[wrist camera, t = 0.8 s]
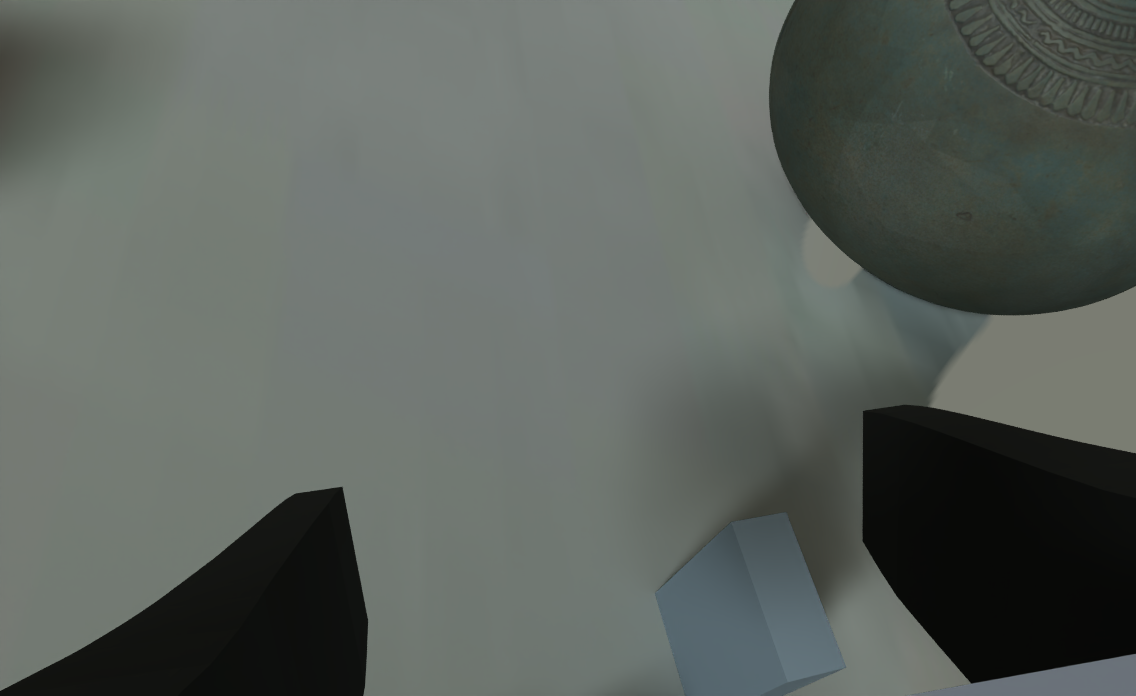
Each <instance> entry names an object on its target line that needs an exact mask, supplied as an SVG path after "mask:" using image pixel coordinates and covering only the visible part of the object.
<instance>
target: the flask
mask: <svg viewBox="0 0 1136 696" xmlns="http://www.w3.org/2000/svg"><path fill="white" fill-rule="evenodd" d="M769 108H770V120H771V128H772V132H773V138H774V143H775V147H776V150H777V154H778V157H779V160H780V162H781V165H782V168H783V170H784V172H785V174H786V176H787V178H788V180H789V182H790V184H791V186H792V188H793V190H794V192H795V193H796V195H797V197H798V199H799V200H800V202H801V203H802V205H803V206H804V208H805V210H806V211H807V212H808V214H809V215H810V217H811V218H812V219H813V221H814V222H815V223H816V224H817V226H818V227H819V228H820V229H821V230H822V231H823V233H824V234H825V235H826V236H827V237H828V238H829V239H830V240H831V241H832V242H833V243H834V244H835V245H836V246H837V247H838V248H839V249H840V250H842V251H843V252H844V253H845V254H846V255H847V256H849V257H850V258H851V259H852V260H853V261H855V262H856V263H857V264H859V265H860V266H861V267H863V268H864V269H866V270H867V271H868V272H870V273H871V274H873V275H874V276H876V277H878V278H879V279H881V280H883V281H884V282H886V283H888V284H889V285H891V286H893V287H895V288H897V289H899V290H901V291H903V292H906V293H908V294H910V295H913V296H915V297H918V298H920V299H923V300H926V301H929V302H932V303H935V304H938V305H942V306H945V307H949V308H954V309H958V310H963V311H968V312H974V313H980V314H990V315H1031V314H1032V315H1033V314H1041V313H1050V312H1058V311H1063V310H1068V309H1073V308H1077V307H1082V306H1085V305H1089V304H1092V303H1095V302H1098V301H1101V300H1104V299H1107V298H1110V297H1112V296H1115V295H1117V294H1119V293H1122V292H1124V291H1126V290H1128V289H1130V288H1132V287H1134V286H1136V0H795V1H794V3H793V5H792V7H791V9H790V11H789V13H788V15H787V17H786V19H785V22H784V24H783V26H782V29H781V32H780V34H779V37H778V40H777V43H776V47H775V50H774V55H773V60H772V66H771V73H770V85H769Z"/></svg>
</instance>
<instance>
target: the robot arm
mask: <svg viewBox="0 0 1136 696" xmlns="http://www.w3.org/2000/svg"><path fill="white" fill-rule="evenodd" d="M863 543H864V544H865V546H866V548H867V549H868V551H869V553H870V554H871V556H872V558H873V559H874V561H875V563H876V564H877V566H878V568H879V569H880V571H881V573H882V574H883V576H884V577H885V579H886V580H887V582H888V583H889V585H890V586H891V588H892V589H893V591H894V593H895V594H896V596H897V597H898V598H899V599H900V601H901V602H902V603H903V604H904V606H905V607H906V608H907V609H908V610H909V612H910V613H911V614H912V615H913V616H914V617H915V619H916V620H917V621H918V622H919V623H920V625H921V626H922V627H923V628H924V629H925V630H926V632H927V633H928V634H929V635H930V636H931V638H932V639H933V640H934V641H935V642H936V643H937V645H938V646H939V647H940V648H941V649H942V650H943V651H944V653H945V654H946V655H947V656H948V657H949V658H950V659H951V661H952V662H953V663H954V664H955V665H956V666H957V668H958V669H959V670H960V671H961V672H962V673H963V674H964V676H965V677H966V678H967V679H968V680H969V681H970V683H971V684H967V685H962V686H956V687H951V688H945V689H940V690H934V691H929V692H923V693H918V694H912V695H907V696H1136V453H1131V452H1126V451H1121V450H1116V449H1111V448H1106V447H1101V446H1097V445H1092V444H1087V443H1082V442H1078V441H1073V440H1069V439H1064V438H1060V437H1055V436H1051V435H1047V434H1043V433H1039V432H1034V431H1030V430H1026V429H1022V428H1018V427H1014V426H1010V425H1006V424H1002V423H998V422H994V421H989V420H985V419H981V418H977V417H973V416H968V415H964V414H960V413H955V412H950V411H946V410H941V409H936V408H930V407H923V406H914V405H900V406H893V407H887V408H880V409H873V410H866V411H863ZM367 635H368V618H367V613H366V608H365V602H364V597H363V592H362V587H361V581H360V576H359V571H358V566H357V561H356V555H355V550H354V545H353V540H352V535H351V529H350V524H349V519H348V514H347V508H346V503H345V498H344V493H343V488H342V487H338V488H331V489H324V490H317V491H310V492H303V493H296V494H294V495H292V496H291V497H289V498H287V499H286V500H285V501H283V502H282V503H281V504H279V505H278V506H277V507H276V508H274V509H273V510H272V511H271V512H269V513H268V514H267V515H266V516H265V517H263V518H262V519H261V520H260V521H259V522H257V523H256V524H255V525H254V526H253V527H251V528H250V529H249V530H248V531H247V532H245V533H244V534H243V535H242V536H241V537H239V538H238V539H237V540H236V541H235V542H233V543H232V544H231V545H230V546H229V547H227V548H226V549H225V550H224V551H222V552H221V553H220V554H219V555H218V556H216V557H215V558H214V559H213V560H211V561H210V562H209V563H207V564H206V565H205V566H203V567H202V568H201V569H199V570H198V571H197V572H195V573H194V574H193V575H191V576H190V577H189V578H187V579H186V580H185V581H183V582H182V583H181V584H179V585H178V586H177V587H175V588H174V589H173V590H171V591H170V592H169V593H167V594H166V595H165V596H163V597H162V598H161V599H159V600H158V601H157V602H155V603H154V604H152V605H151V606H149V607H148V608H146V609H145V610H143V611H142V612H140V613H139V614H137V615H136V616H134V617H133V618H131V619H130V620H128V621H127V622H125V623H123V624H122V625H120V626H119V627H117V628H115V629H114V630H112V631H110V632H109V633H107V634H105V635H104V636H102V637H100V638H99V639H97V640H96V641H94V642H92V643H91V644H89V645H87V646H85V647H84V648H82V649H80V650H78V651H77V652H75V653H73V654H71V655H69V656H67V657H65V658H64V659H62V660H60V661H58V662H56V663H54V664H52V665H50V666H48V667H46V668H44V669H42V670H40V671H38V672H36V673H34V674H32V675H31V676H29V677H27V678H25V679H23V680H21V681H19V682H17V683H15V684H13V685H11V686H9V687H7V688H5V689H3V690H1V691H0V696H363V694H364V688H365V676H366V659H367Z"/></svg>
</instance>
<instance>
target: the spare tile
mask: <svg viewBox="0 0 1136 696" xmlns="http://www.w3.org/2000/svg"><path fill="white" fill-rule="evenodd" d="M655 595H656V598H657V602H658V605H659V609H660V612H661V615H662V619H663V622H664V625H665V629H666V632H667V635H668V639H669V642H670V646H671V649H672V652H673V656H674V659H675V662H676V666H677V669H678V672H679V676H680V679H681V683H682V686H683V689H684V693H685V696H783V695H786V694H788V693H790V692H792V691H795V690H797V689H799V688H801V687H804V686H806V685H808V684H810V683H813V682H815V681H817V680H819V679H822V678H824V677H826V676H828V675H830V674H833V673H835V672H837V671H839V670H842V669H844V668H846V665H845V663H844V660H843V658H842V655H841V652H840V650H839V647H838V645H837V642H836V640H835V637H834V634H833V632H832V629H831V627H830V624H829V621H828V619H827V616H826V614H825V611H824V608H823V606H822V603H821V601H820V598H819V596H818V593H817V590H816V588H815V585H814V583H813V580H812V577H811V575H810V572H809V570H808V567H807V564H806V562H805V559H804V557H803V554H802V552H801V549H800V546H799V544H798V541H797V539H796V536H795V533H794V531H793V528H792V526H791V523H790V520H789V518H788V515H787V513H786V512H783V513H777V514H772V515H766V516H761V517H755V518H750V519H744V520H739V521H733V522H730V523H729V524H728V525H727V526H726V527H725V528H724V529H723V530H722V531H721V532H720V533H719V534H718V535H717V536H716V537H714V538H713V539H712V540H711V541H710V542H709V543H708V544H707V545H706V546H705V547H704V548H703V549H702V550H701V551H700V552H698V553H697V554H696V555H695V556H694V557H693V558H692V559H691V560H690V561H689V562H688V563H687V564H686V565H685V566H684V567H682V568H681V569H680V570H679V571H678V572H677V573H676V574H675V575H674V576H673V577H672V578H671V579H670V580H669V581H668V582H667V583H665V584H664V585H663V586H662V587H661V588H660V589H659V590H658V591H657V592H656V593H655Z"/></svg>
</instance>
